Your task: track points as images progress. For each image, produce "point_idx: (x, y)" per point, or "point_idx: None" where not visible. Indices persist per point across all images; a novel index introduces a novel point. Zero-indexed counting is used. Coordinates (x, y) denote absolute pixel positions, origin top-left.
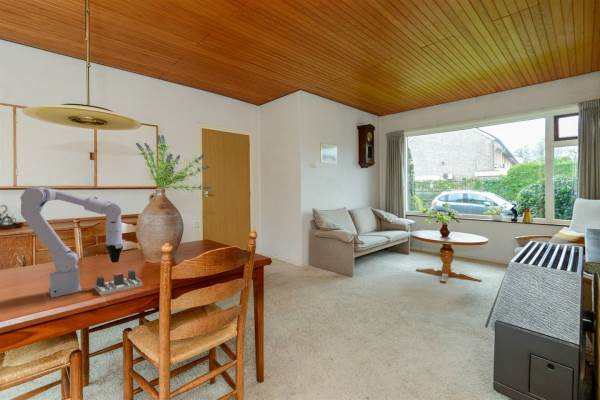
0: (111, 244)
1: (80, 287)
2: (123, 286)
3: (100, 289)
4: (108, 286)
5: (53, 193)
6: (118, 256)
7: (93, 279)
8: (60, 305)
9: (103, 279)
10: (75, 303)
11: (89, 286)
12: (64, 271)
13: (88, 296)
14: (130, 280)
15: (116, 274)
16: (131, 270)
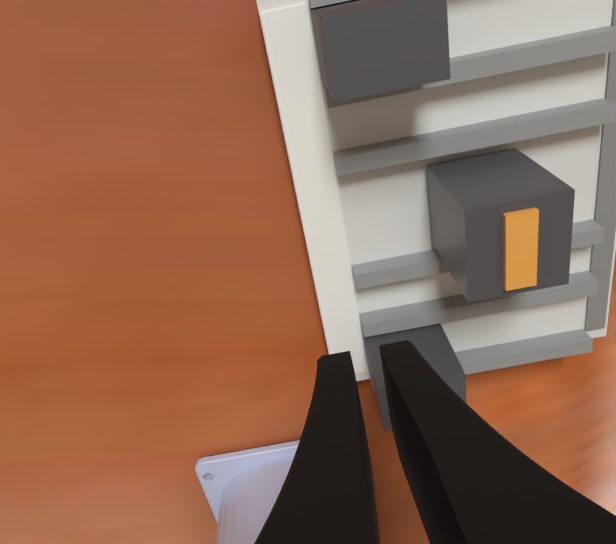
0: None
1: (275, 451)
2: (607, 153)
3: (580, 348)
4: (543, 292)
5: None
6: (459, 418)
7: (14, 381)
8: None
9: (460, 365)
10: (601, 438)
11: (241, 395)
12: None
13: (516, 386)
14: (505, 68)
15: (532, 273)
16: (325, 46)
